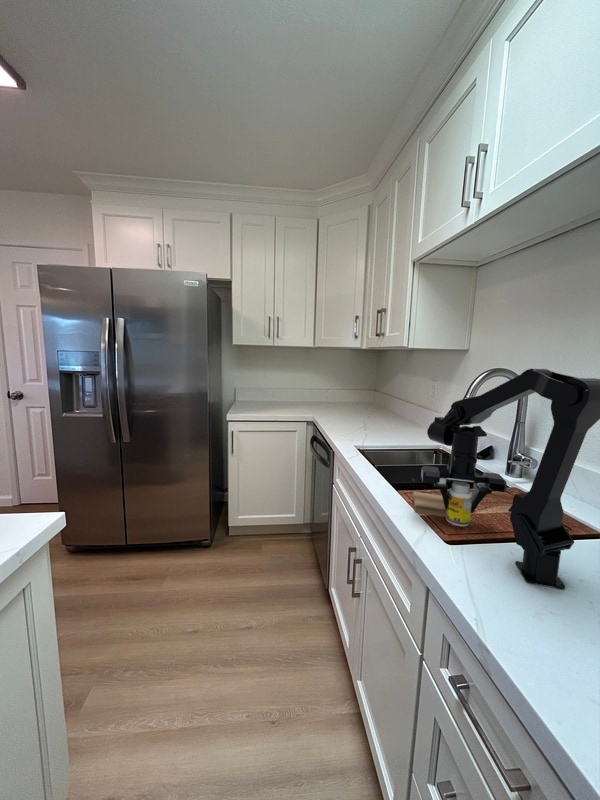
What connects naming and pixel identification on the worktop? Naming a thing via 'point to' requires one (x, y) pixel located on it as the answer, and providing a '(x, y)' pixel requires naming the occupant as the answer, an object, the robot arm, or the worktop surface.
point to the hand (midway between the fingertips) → (458, 510)
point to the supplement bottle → (459, 504)
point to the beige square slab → (429, 504)
